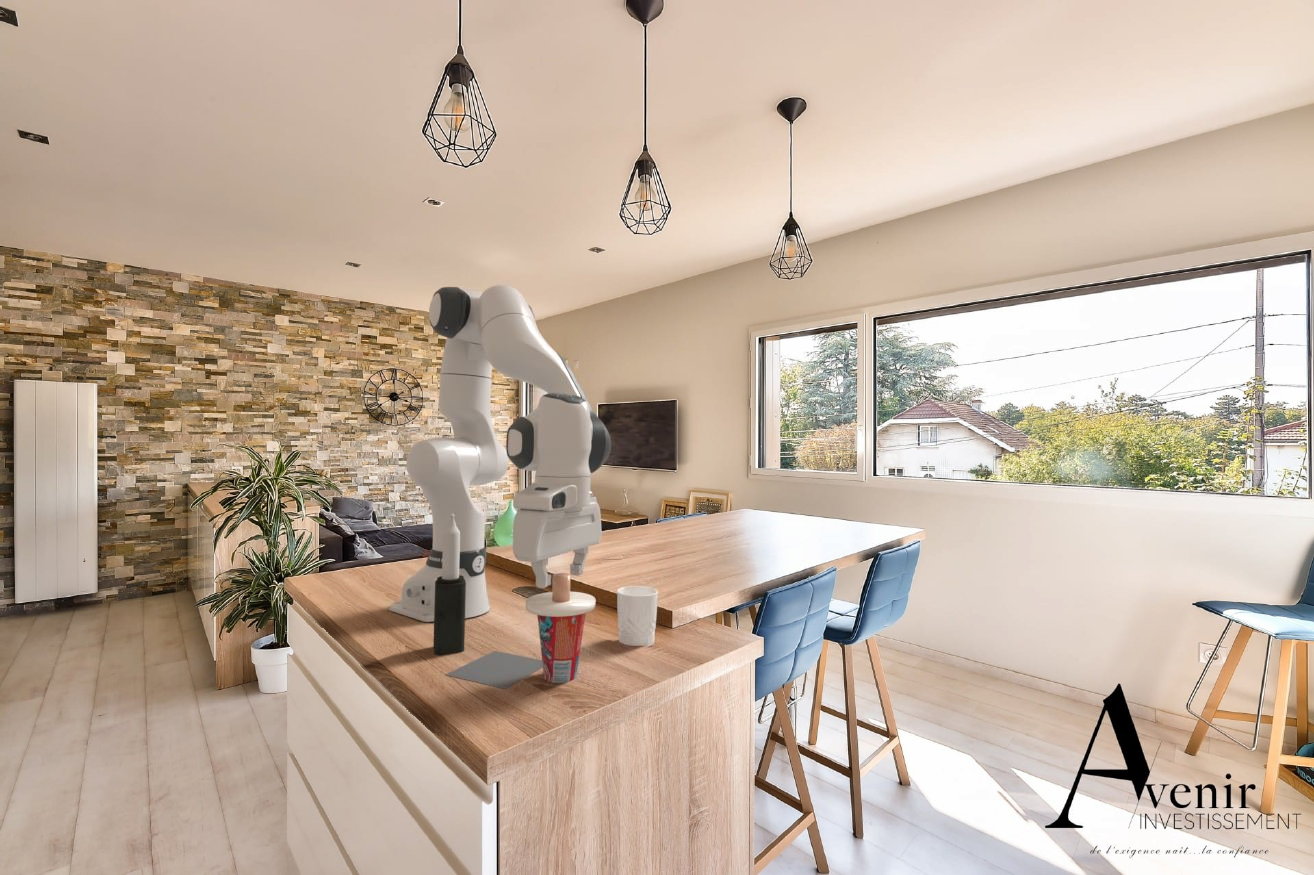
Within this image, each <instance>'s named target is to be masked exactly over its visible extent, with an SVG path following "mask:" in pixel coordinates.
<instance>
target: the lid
mask: <svg viewBox="0 0 1314 875" xmlns="http://www.w3.org/2000/svg"><path fill="white" fill-rule="evenodd" d="M551 586H552V591H549V592H542V593H538V594H535V595H531V596H530V597H528V598H527V599H525V610H526V611H527V612H528V613H530V614H533V615H541V616H552V617H562V616H574V615H579V614H584V613H586V614H587V613H590V612H591V611H593V610H594V609H595V608H596V606H597V604H596V601H597V600H596V598H595V596H593V595H592V594H589V593H584V592H579V591H571V574H570V573H566V572H560V573H553V574H552V585H551Z"/></svg>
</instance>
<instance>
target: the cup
mask: <svg viewBox="0 0 1314 875" xmlns="http://www.w3.org/2000/svg"><path fill="white" fill-rule="evenodd" d="M586 614H587V613H584V614H579V615H574V616H562V617H552V616H541V615H537V623H538V624H537V625H538V634H539V642H540V644H539V645H540V653H541V660H542V663H543V667H542V670H543V671H542V672H543V679H544V680H545V681H546V682H549V683H553V684H554V683H555V684H562V683H563V684H564V683H568V682H571V681H573V680H575V679H576V678H577V677H578V676H577V675H578V669H579V668H578V667H579V662H580V655H581V653H580V652H581V649H582V648H581V647H582V641H583V640H582V639H583V633H584V627H585V622H586Z"/></svg>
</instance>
